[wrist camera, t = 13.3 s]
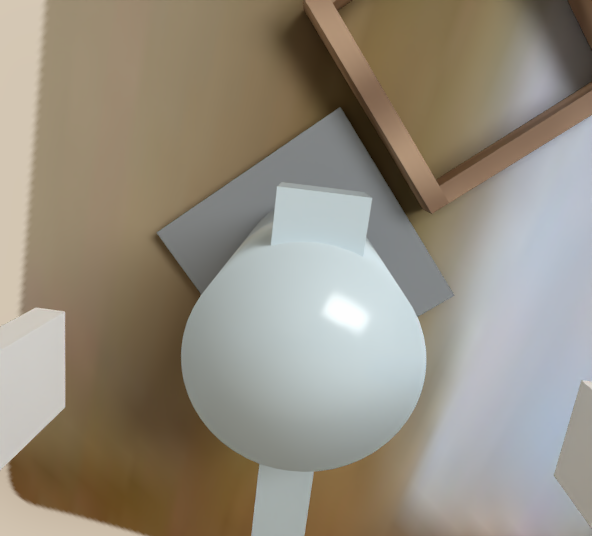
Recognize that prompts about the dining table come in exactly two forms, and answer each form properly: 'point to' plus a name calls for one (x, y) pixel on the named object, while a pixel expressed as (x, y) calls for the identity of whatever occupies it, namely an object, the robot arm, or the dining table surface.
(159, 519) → the dining table surface
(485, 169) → the frame
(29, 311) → the robot arm
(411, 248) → the coaster
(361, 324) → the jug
